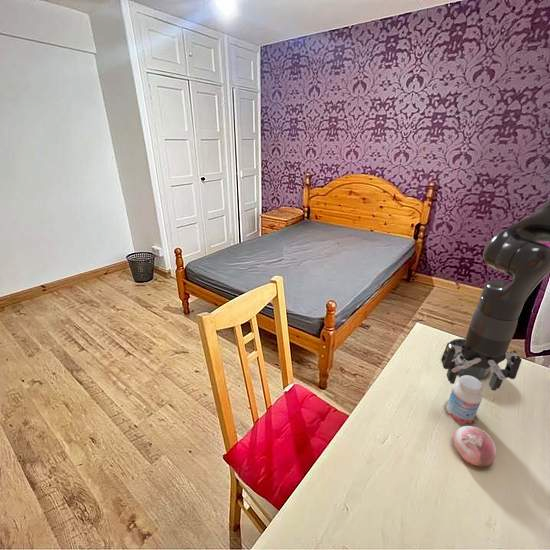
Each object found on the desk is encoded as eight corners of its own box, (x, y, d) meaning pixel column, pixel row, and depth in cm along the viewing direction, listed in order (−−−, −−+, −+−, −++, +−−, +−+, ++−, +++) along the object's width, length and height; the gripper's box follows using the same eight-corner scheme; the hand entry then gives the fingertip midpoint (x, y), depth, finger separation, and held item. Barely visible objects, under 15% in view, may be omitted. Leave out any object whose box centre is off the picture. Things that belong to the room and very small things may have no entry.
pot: (450, 349, 98) (455, 334, 95) (491, 366, 91) (497, 350, 88) (438, 367, 91) (442, 352, 88) (480, 387, 84) (487, 371, 81)
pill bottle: (448, 423, 75) (460, 390, 69) (442, 402, 80) (453, 370, 75) (476, 427, 73) (490, 394, 68) (468, 406, 79) (481, 374, 73)
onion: (442, 449, 69) (450, 428, 66) (461, 431, 73) (469, 410, 69) (480, 480, 63) (490, 458, 60) (498, 459, 67) (509, 437, 63)
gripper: (523, 322, 65) (500, 377, 73) (449, 314, 69) (434, 367, 77) (539, 345, 59) (512, 403, 67) (457, 334, 63) (440, 391, 70)
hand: (471, 384), depth 72 cm, fingers open, 8 cm apart
